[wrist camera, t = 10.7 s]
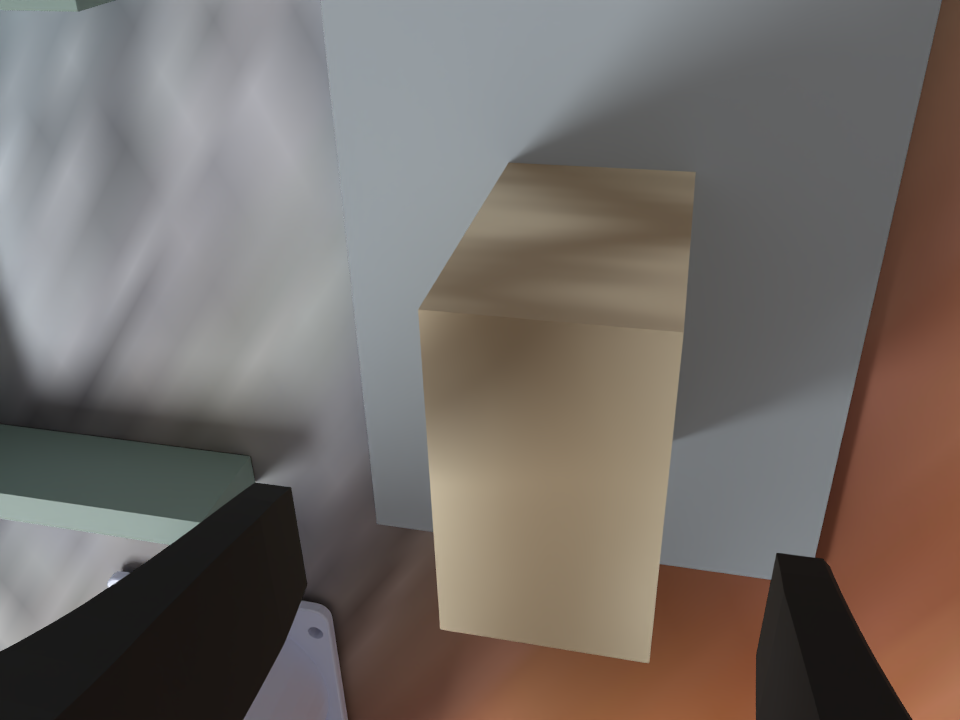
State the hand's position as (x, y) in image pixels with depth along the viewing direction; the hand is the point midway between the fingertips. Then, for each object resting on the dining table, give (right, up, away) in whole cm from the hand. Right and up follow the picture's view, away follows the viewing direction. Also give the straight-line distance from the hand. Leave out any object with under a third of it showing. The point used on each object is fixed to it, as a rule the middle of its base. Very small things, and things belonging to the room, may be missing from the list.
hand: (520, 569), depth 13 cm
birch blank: (+2, +4, +8) cm, 9 cm away
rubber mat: (+2, +5, +8) cm, 10 cm away
